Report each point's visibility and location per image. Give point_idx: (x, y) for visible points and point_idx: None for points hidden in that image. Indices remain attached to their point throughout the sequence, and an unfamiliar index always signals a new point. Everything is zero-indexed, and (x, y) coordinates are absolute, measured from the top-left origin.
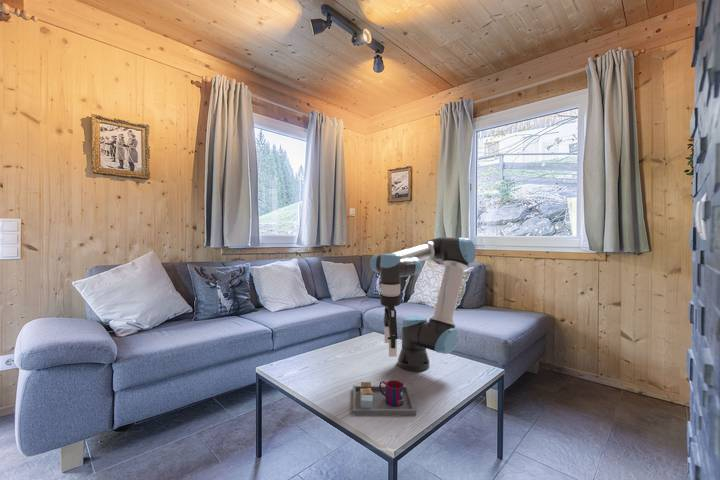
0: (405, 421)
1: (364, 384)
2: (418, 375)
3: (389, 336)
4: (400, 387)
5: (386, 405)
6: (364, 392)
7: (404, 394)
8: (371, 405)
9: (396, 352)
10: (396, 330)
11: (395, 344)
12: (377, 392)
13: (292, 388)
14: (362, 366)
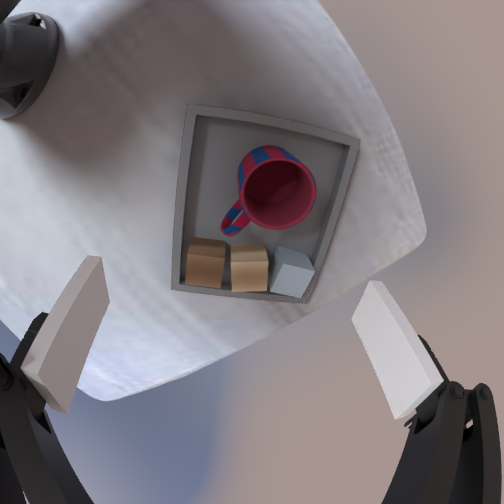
0: (363, 174)
1: (203, 276)
2: (83, 47)
3: (81, 309)
4: (311, 179)
5: None
6: (258, 283)
7: (223, 125)
8: (310, 264)
9: (393, 299)
10: (496, 441)
11: (418, 350)
12: (196, 216)
13: (166, 378)
14: (29, 231)
